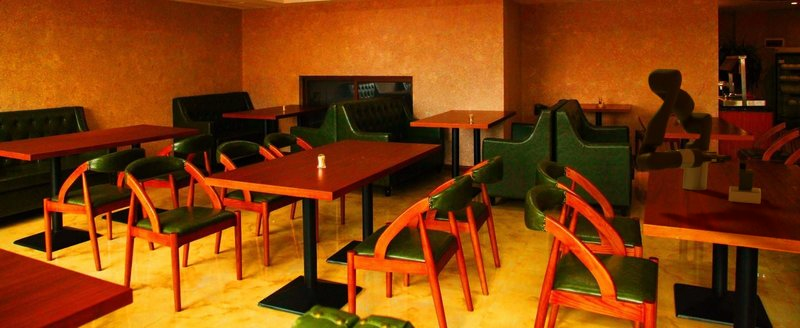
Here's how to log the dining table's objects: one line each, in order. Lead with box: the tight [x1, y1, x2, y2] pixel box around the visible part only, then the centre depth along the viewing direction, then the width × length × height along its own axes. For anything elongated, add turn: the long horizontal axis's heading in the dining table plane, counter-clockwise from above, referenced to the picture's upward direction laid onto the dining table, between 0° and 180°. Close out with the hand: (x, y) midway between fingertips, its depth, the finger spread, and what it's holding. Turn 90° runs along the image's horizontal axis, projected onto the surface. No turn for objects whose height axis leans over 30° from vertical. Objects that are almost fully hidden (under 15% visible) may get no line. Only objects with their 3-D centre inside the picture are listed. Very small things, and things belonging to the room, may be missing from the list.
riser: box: [728, 185, 762, 204], centre depth 251 cm, size 11×11×4 cm
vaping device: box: [738, 158, 754, 190], centre depth 249 cm, size 3×5×12 cm, turn 52°
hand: (723, 156), depth 246 cm, fingers open, 8 cm apart
